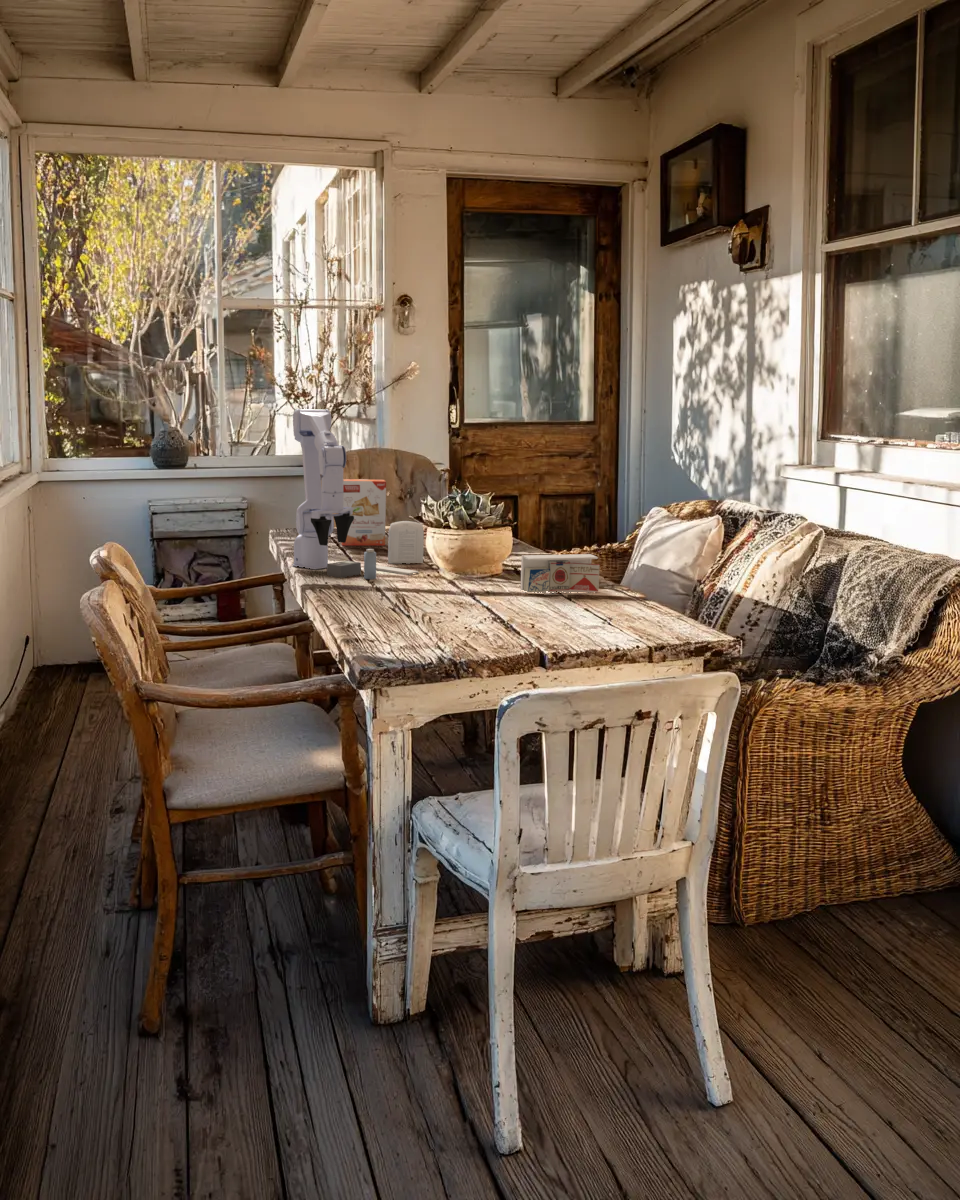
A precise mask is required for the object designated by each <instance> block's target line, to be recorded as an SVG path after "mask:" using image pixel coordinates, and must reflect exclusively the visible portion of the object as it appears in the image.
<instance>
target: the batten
mask: <svg viewBox="0 0 960 1200" xmlns="http://www.w3.org/2000/svg"><path fill="white" fill-rule="evenodd" d="M379 570H380V572H385V571H387V572H386V573H392V572H394V573H393V574H398V573H403V574H402V575H405V574H413V573H418V574H420V572H419V571H418V570H412V569H406V568H399V567H392V566H388V565H387V566H386V565H378V564H376V571H379ZM413 575H414V574H413Z"/></svg>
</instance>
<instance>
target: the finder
mask: <svg viewBox="0 0 960 1200" xmlns="http://www.w3.org/2000/svg"><path fill="white" fill-rule="evenodd" d="M361 572H362V562H359V561H354V560H353V561H352V560H342V561H337V562H331V563H328V564H327V568H326V576H327V575H329V576H328V577H331V576H334V577H333V578H338V577H340V578H339V579H343V578H342V577H344V578H348V577H347V576H349V577H354V576H353V575H355V576H359V574H360V575H362V573H361Z"/></svg>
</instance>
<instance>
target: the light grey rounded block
mask: <svg viewBox="0 0 960 1200" xmlns="http://www.w3.org/2000/svg"><path fill="white" fill-rule="evenodd" d="M424 533H425V532H424V527H423V524H422V523H419V522H418V521H417V522H416V521H411V520H410V521H409V520H402V521H401V520H400V521H395V522H392V523H390V524H389V529H388V540H387V541H388V543H387V545H388V546H387V549H388V551H387V563H388V564H392V565H393V564H394V565H396V564H399V565H400V564H401V565H403V564H402V563H406V564H405V565H411V564H410V563H423V564H424V544H425V543H424V542H425V541H424V539H425V538H424V537H425V534H424Z"/></svg>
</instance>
